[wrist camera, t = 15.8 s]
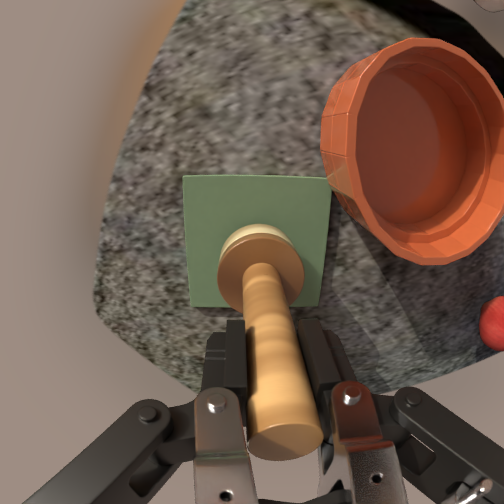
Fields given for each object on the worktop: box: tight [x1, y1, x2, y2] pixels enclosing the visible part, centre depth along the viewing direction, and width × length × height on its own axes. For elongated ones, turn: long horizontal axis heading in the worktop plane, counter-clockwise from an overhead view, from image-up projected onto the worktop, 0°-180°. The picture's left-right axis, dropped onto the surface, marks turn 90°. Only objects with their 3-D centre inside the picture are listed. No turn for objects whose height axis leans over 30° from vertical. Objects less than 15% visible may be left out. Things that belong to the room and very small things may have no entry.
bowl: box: [320, 38, 504, 265], centre depth 16 cm, size 14×14×6 cm
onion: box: [479, 296, 504, 351], centre depth 21 cm, size 6×6×8 cm
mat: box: [183, 175, 332, 307], centre depth 21 cm, size 10×10×1 cm
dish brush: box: [217, 224, 324, 461], centre depth 13 cm, size 5×5×14 cm
